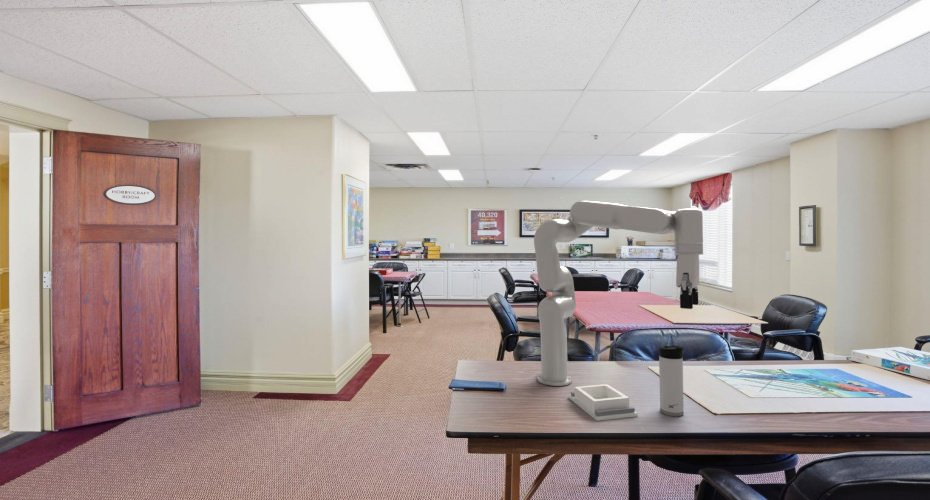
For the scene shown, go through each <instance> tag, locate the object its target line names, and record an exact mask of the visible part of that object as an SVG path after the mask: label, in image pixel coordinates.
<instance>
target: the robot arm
mask: <svg viewBox="0 0 930 500" xmlns="http://www.w3.org/2000/svg"><path fill="white" fill-rule="evenodd" d="M569 215H570V216H569V217H567V218H566V219H558V218H554V219H549V220H548V219H547V220H545V221H544V222H542V223H541V224H540V225H539V226H538V228H537V229H536V230H535V233H534V237H533V246H534V252H535V259H536V260H535V261H536V263H535V264H536V271H537V280H538V281H537V282H538V286H539V287H540V289H541V290H542V291H544V292H545V293H551V295H548V296H546V297H544V298H543V299H542V300H541V301H540V302H539V304H538V307H537V315H538V320H539V328H540V329H539V330H540V358H541V359H540V362H541V363H540V365H541V366H540V367H541V369H540V370H541V371H540V372H541V373H539V374H538V375H537V377H536V379H537V382H539V383H540V384H543V385H545V386H552V387H563V386H567V385H570V384H572V382H573V378H572V376H570V375H568V339H567V338H568V335H567V326H566V323H565V319H568V318H570V317H571V316H572V315H574V313H575V311H576V308H577V307H576V306H577V302H576V294H575V293H576V292H575V285H574V278H573V274H572V273H571V271H570V270H569V269H568V268H567V267H566V266H563V265H561V263H560V262H561V261H560V253H559V250H558V249H557V246H556V244H557V243H570V242H573V241H574V240H576V239H577V238H579V237H581V236H583V234H585V233H587V232H588V231H589V230H591V229H592V228H593V227H596V228H597V227H598V228H602V229H603V228H605V229H611V230H624V231H625V230H626V231H633V232H634V231H635V232H640V233H645V234H646V233H648V234H655V235H667V234H672V233H673V234H674V256H675V255H676V256H677V257H676V258H677V259H676V276H675V279H676V280H675V282H676V283H675V286H676V287H677V288H680V291H679V308H680V309H684V310H685V309H686V310H693V307H694V306H697V305H699V291H698V290H699V289H698V286H699V285H700V256H701V255H704V238H703V237H704V227H703V223H704V221H703V211H702V210H701V209H700V208H694V207H693V208H692V207H691V208H681V209H676V210H672V211H671V210H665V209H660V208H651V207H641V206H631V205H624V204H620V203H614V202H613V203H612V202H603V201H602V202H601V201H592V200H578V201H576V202H574V203H573V204H572V206H571V207H570V210H569ZM693 305H694V306H693Z"/></svg>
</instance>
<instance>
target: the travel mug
mask: <svg viewBox="0 0 930 500" xmlns="http://www.w3.org/2000/svg"><path fill="white" fill-rule="evenodd" d="M658 350H659V351H658V352H659V353H658V354H659V355H658V358H659V360H658V366H659V367H658V368H659V369H658V370H659V411H660V412H661V413H662V414H664V415H666V416H671V417H681V416H683V415H684V407H685V406H684V360H683V359H684V358H683V357H684V356H683V350H684V347H682V346H680V345H679V346H678V345H664V346H662V347H661V346H659V349H658Z"/></svg>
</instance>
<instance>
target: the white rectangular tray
mask: <svg viewBox="0 0 930 500" xmlns="http://www.w3.org/2000/svg"><path fill="white" fill-rule="evenodd" d="M568 399H569V400H571V401H572V402H573V403H574V404H576V405H577V406H578V407H579V408H580V409H582V411H584V412H585V413H587V415H589V416H590V417H592V418H593V419H594V420H595V421H597V422H598V421H609V420H616V419H617V420H618V419H625V418H626V419H627V418H634V417H638V416H639V415H638V412H637V411H636V409H635V407H633V406H630V397H629V396H627V395H625V394H624V393H622V392H620V391H619V390H618V389H616V388H614V387H613V386H611V385H609V384H607V383H603V384H602V383H601V384H594V385H593V384H592V385H582V386H574V391H570V394H568Z"/></svg>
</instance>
